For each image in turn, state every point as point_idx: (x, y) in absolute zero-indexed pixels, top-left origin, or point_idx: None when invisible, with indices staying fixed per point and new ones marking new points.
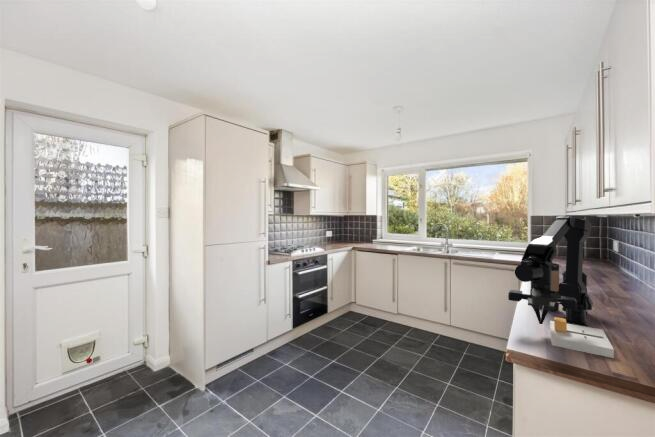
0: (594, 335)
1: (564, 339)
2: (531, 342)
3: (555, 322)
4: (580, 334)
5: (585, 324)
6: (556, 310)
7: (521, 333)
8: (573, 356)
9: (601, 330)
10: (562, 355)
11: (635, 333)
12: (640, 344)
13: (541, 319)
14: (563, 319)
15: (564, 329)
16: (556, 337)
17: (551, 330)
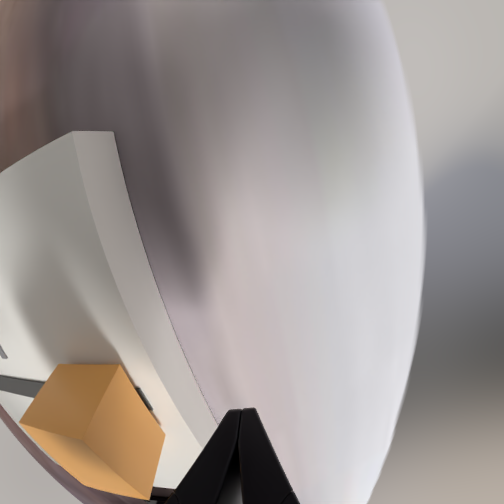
0: (6, 390)
1: (6, 177)
2: (258, 54)
3: (86, 422)
4: (26, 376)
5: (150, 501)
6: None
7: (379, 237)
8: (10, 64)
9: (49, 455)
10: (51, 15)
11: (64, 478)
12: (8, 420)
13: (229, 448)
14: (78, 474)
15: (58, 377)
16: (46, 170)
17: (142, 352)
